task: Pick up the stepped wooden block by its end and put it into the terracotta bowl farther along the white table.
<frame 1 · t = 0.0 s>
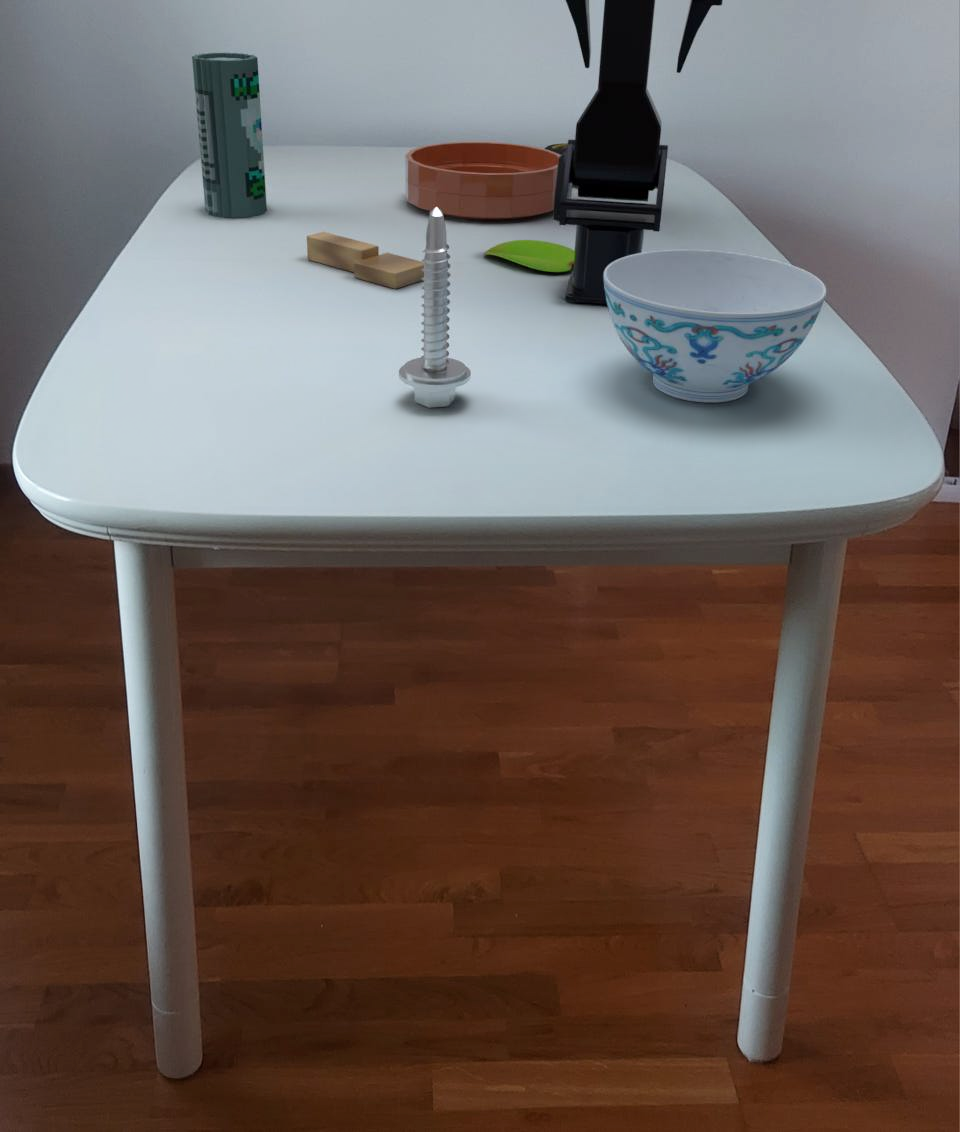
hand: (632, 70, 119), 15 cm above the table, tool pointing down, fingers open, 9 cm apart
bowl: (484, 204, 129), on the table
chinaware: (699, 387, 84), on the table
tape measure: (567, 183, 141), on the table
can: (236, 212, 124), on the table
stepped wooden block: (362, 270, 106), on the table
screw: (434, 403, 80), on the table
decorative leaf: (534, 264, 110), on the table
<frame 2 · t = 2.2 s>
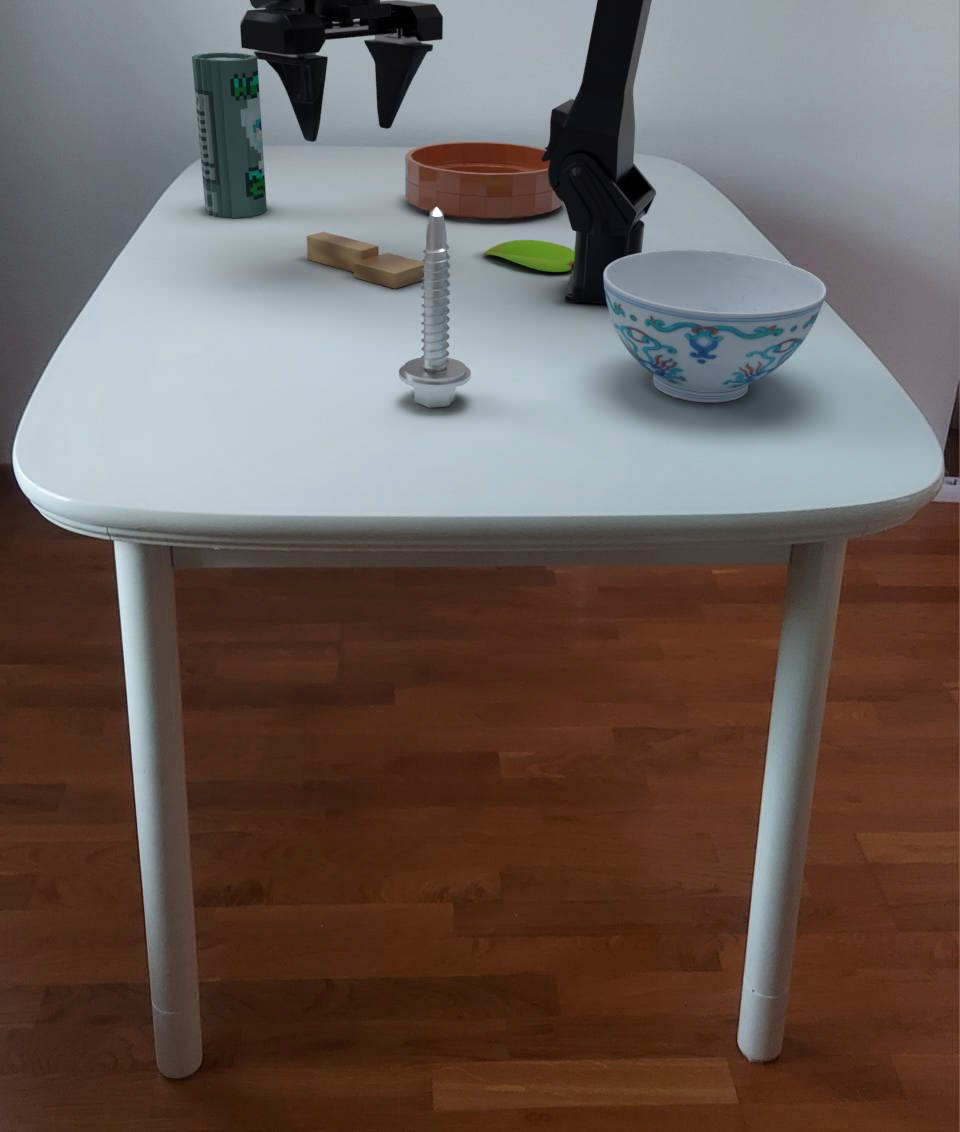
hand: (348, 134, 103), 11 cm above the table, tool pointing down, fingers open, 9 cm apart
nothing on the table moved.
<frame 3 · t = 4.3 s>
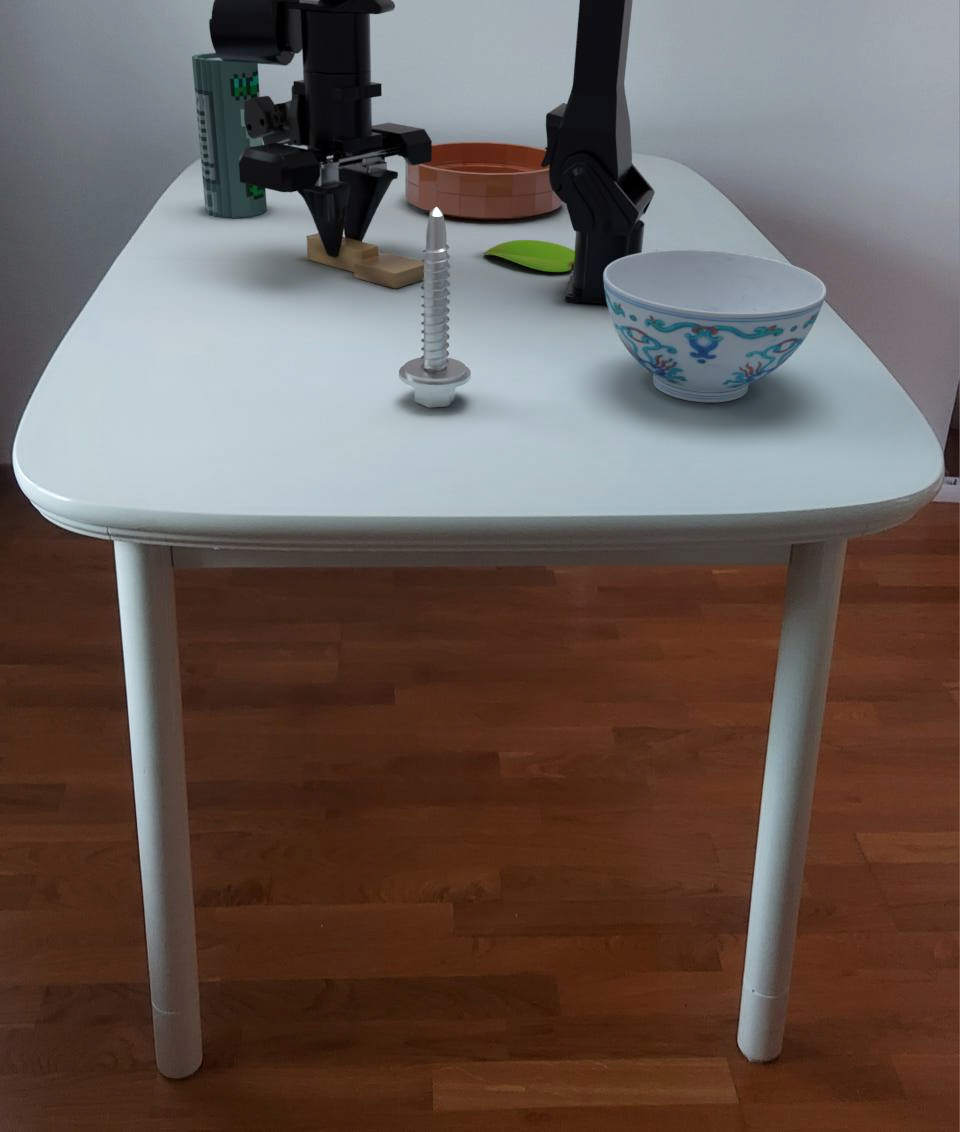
hand: (342, 253, 107), 1 cm above the table, tool pointing down, fingers closed on stepped wooden block, 2 cm apart
stepped wooden block: (362, 270, 106), on the table, touching gripper
everything else where it was.
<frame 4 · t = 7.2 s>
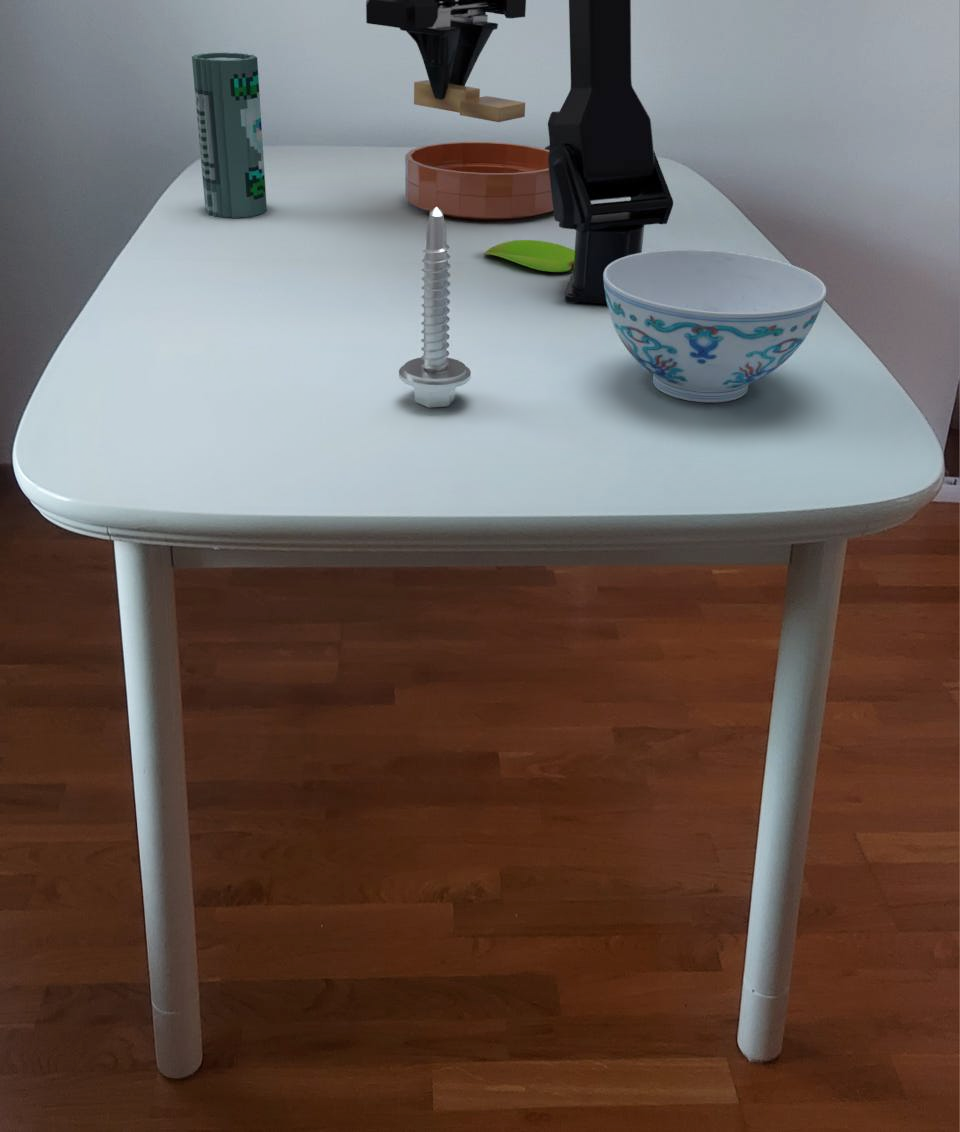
hand: (447, 97, 121), 11 cm above the table, tool pointing down, fingers closed on stepped wooden block, 2 cm apart
stepped wooden block: (465, 111, 120), point 10 cm above the table, touching gripper
everything else where it was.
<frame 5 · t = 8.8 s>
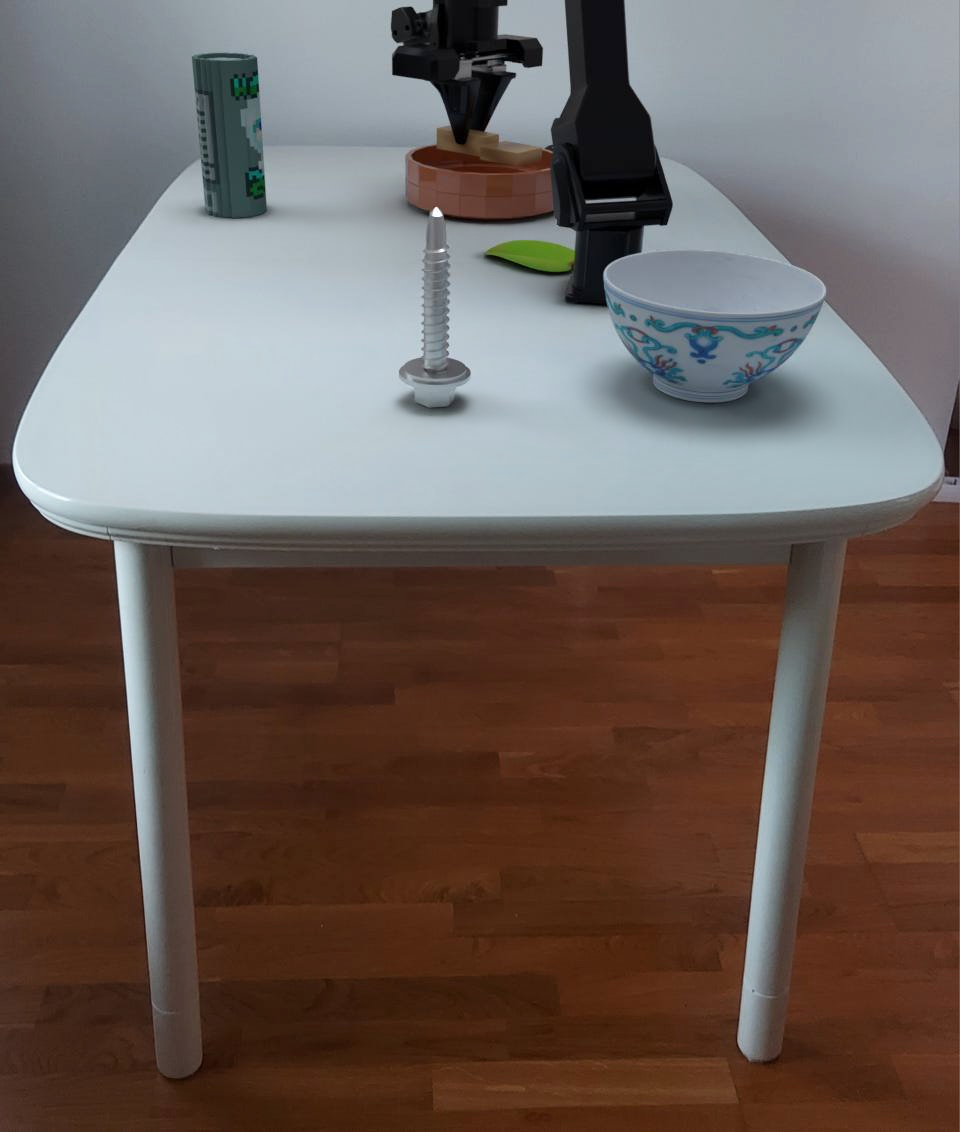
hand: (468, 142, 128), 6 cm above the table, tool pointing down, fingers closed on stepped wooden block, 2 cm apart
stepped wooden block: (485, 155, 127), point 5 cm above the table, touching gripper
everything else where it was.
when the fingers open (3 cm above the table, at t = 10.1 s): stepped wooden block stays where it is, resting on bowl.
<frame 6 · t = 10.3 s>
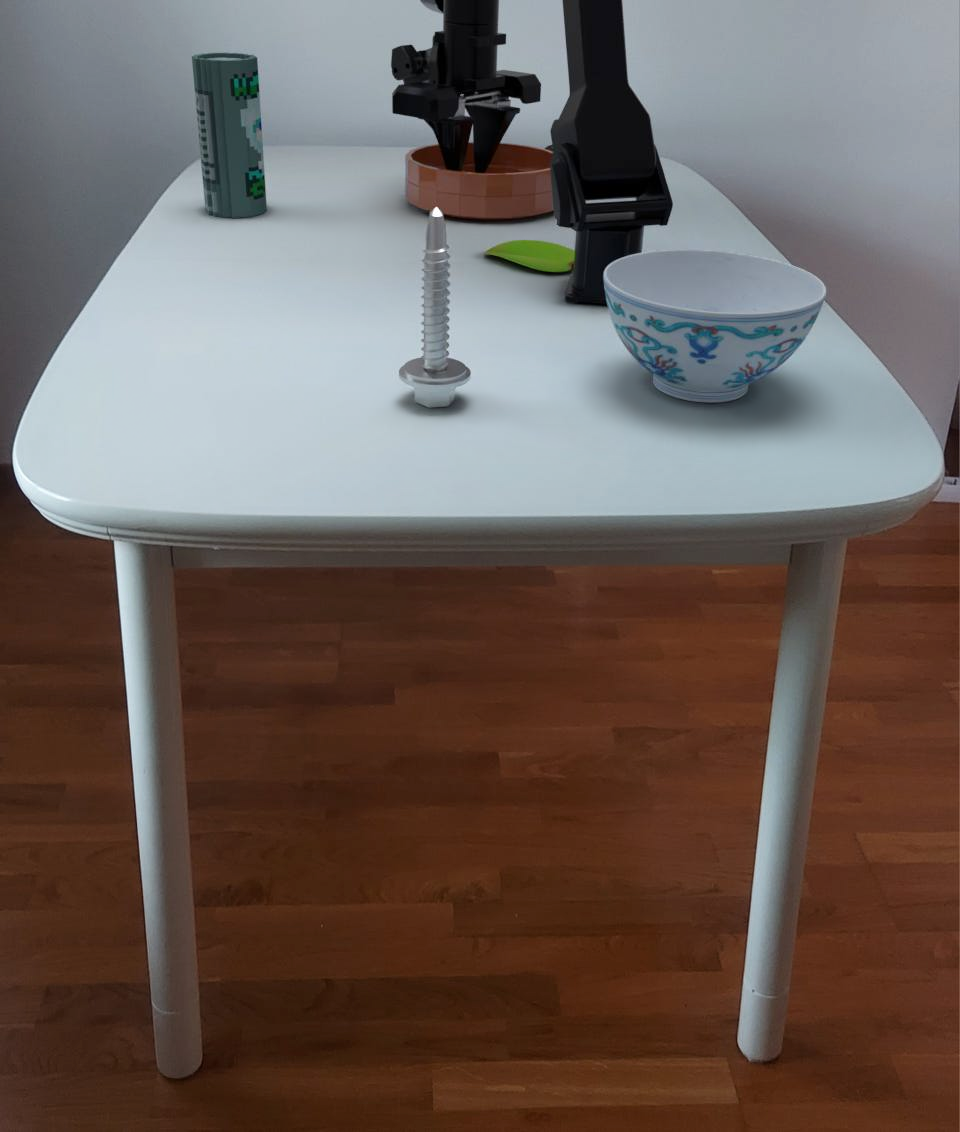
hand: (467, 177, 130), 2 cm above the table, tool pointing down, fingers open, 4 cm apart
stepped wooden block: (483, 198, 129), point 1 cm above the table, touching bowl
everything else where it was.
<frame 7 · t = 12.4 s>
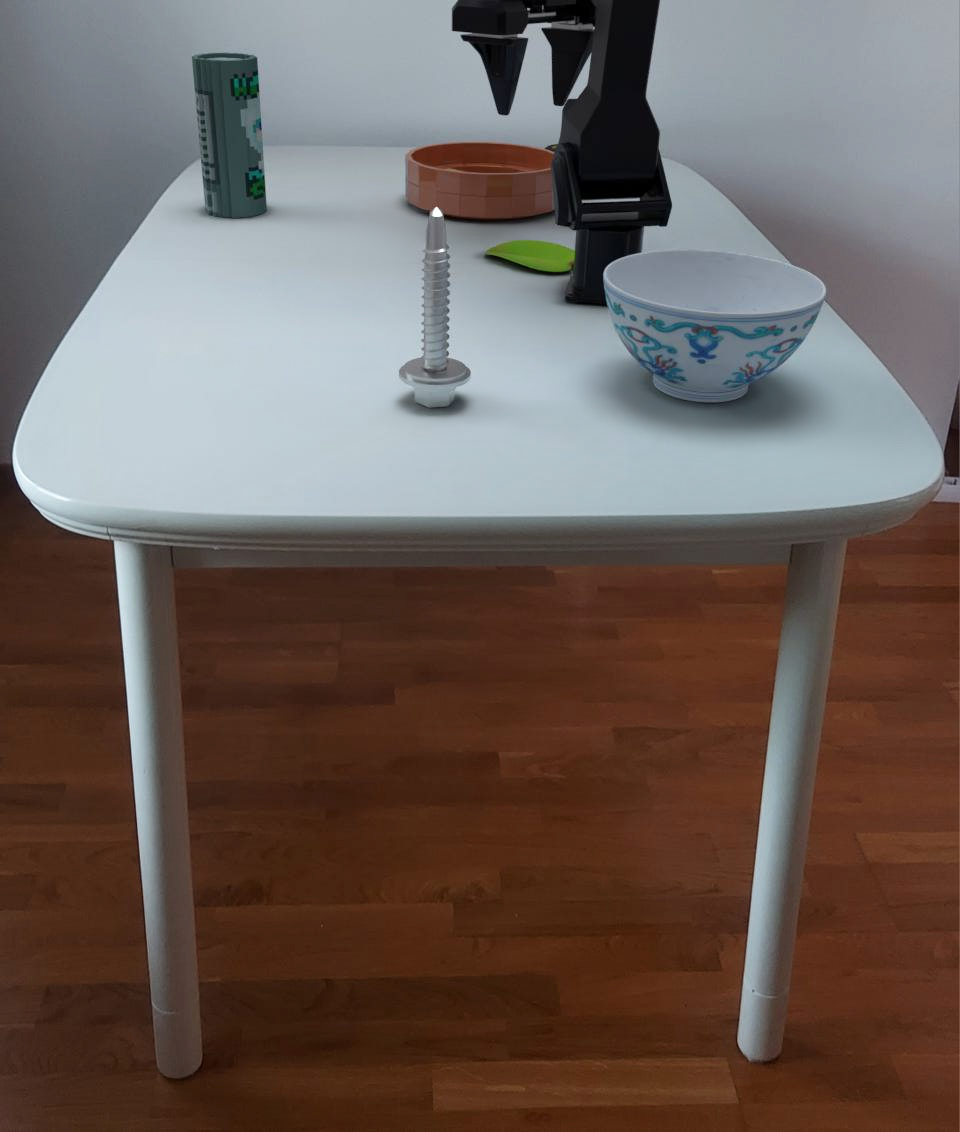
hand: (531, 110, 115), 11 cm above the table, tool pointing down, fingers open, 9 cm apart
nothing on the table moved.
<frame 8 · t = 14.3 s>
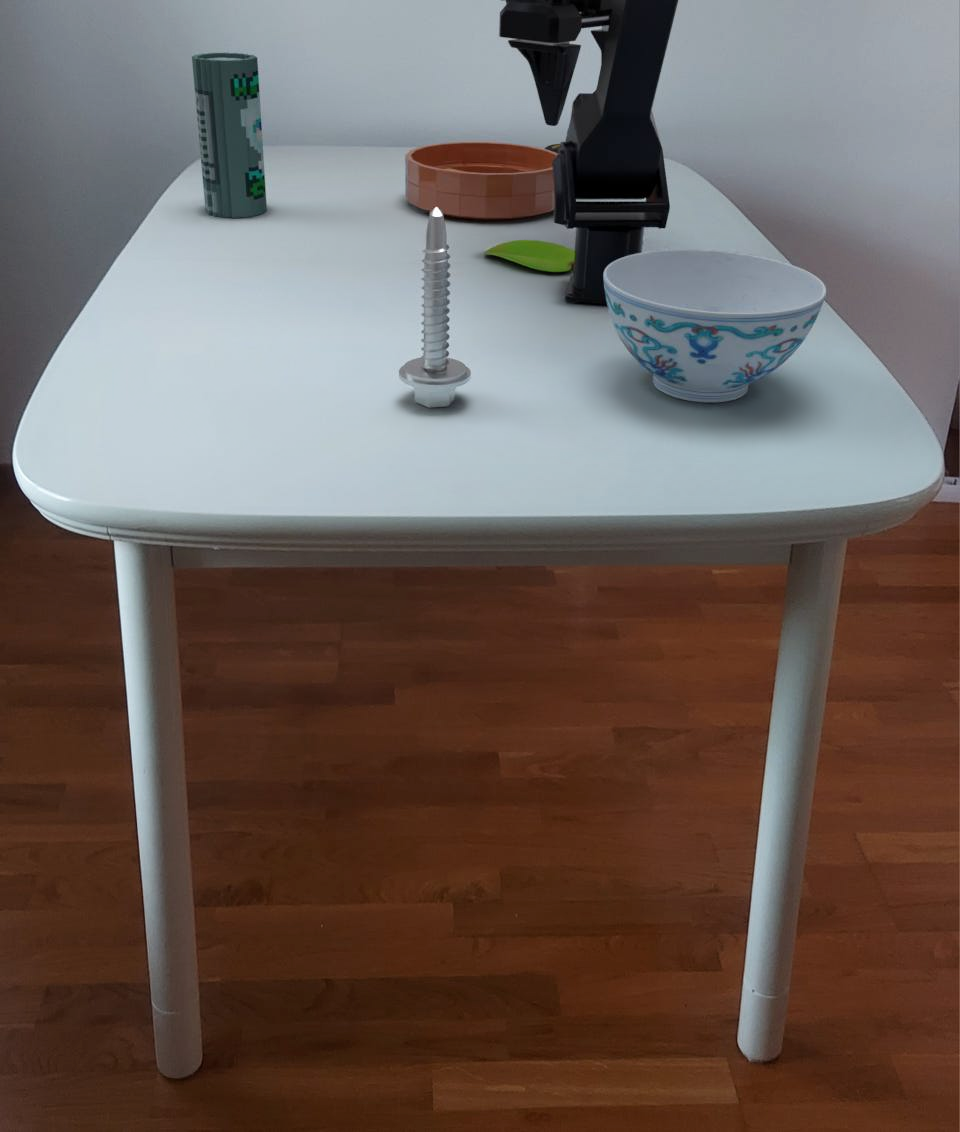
hand: (580, 119, 108), 12 cm above the table, tool pointing down, fingers open, 9 cm apart
nothing on the table moved.
at the end: stepped wooden block inside the target area in the bowl (0.1 cm from its centre), point 0.6 cm above the bowl's base; the gripper is holding nothing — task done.
